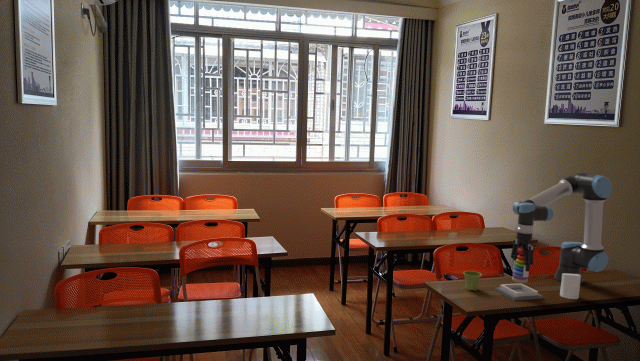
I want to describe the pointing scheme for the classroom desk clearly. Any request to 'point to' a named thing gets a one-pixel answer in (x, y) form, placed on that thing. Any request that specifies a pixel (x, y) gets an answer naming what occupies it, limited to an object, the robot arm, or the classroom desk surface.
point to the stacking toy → (519, 268)
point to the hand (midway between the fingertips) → (520, 274)
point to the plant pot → (472, 280)
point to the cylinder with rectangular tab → (570, 286)
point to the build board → (518, 292)
